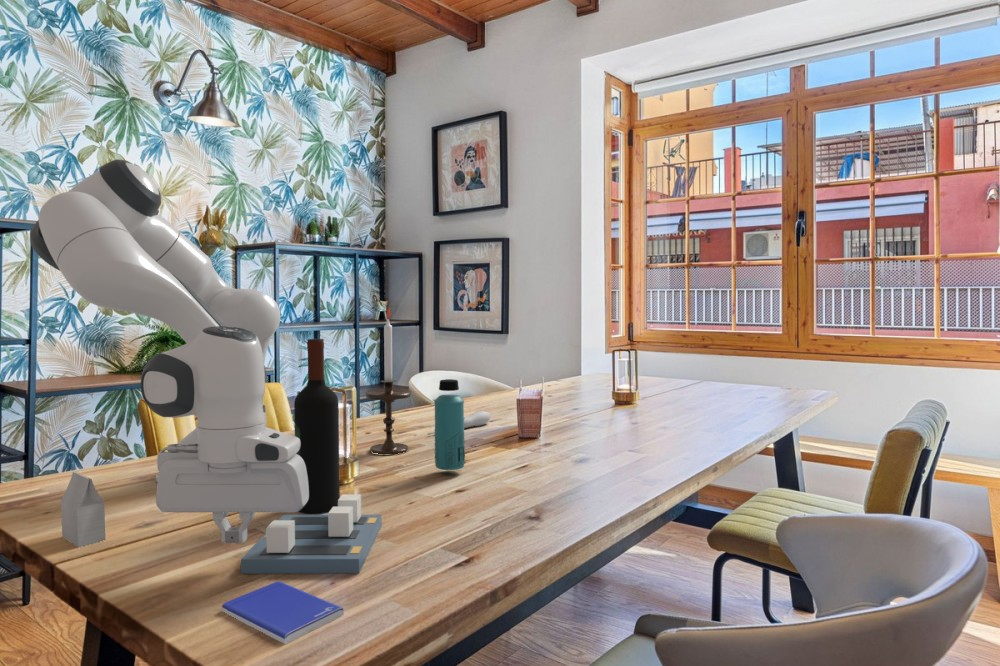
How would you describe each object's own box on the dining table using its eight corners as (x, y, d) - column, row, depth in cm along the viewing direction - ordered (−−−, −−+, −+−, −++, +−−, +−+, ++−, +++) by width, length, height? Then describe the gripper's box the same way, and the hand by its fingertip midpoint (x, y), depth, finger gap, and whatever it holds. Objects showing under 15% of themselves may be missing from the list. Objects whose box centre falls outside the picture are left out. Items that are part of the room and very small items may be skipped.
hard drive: (343, 606, 78) (280, 579, 85) (284, 634, 71) (221, 603, 78) (344, 619, 78) (280, 591, 85) (284, 648, 71) (221, 616, 79)
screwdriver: (422, 442, 176) (419, 427, 176) (483, 423, 195) (480, 409, 195) (434, 441, 173) (431, 425, 173) (495, 422, 192) (492, 408, 192)
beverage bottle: (460, 478, 135) (460, 382, 134) (430, 476, 137) (429, 381, 135) (468, 470, 142) (468, 378, 141) (439, 468, 143) (438, 377, 142)
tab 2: (338, 522, 102) (337, 500, 102) (342, 515, 105) (342, 494, 105) (357, 522, 102) (357, 500, 102) (361, 515, 105) (360, 494, 105)
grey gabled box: (78, 547, 98) (76, 482, 98) (62, 537, 102) (60, 474, 102) (105, 540, 101) (103, 476, 100) (88, 530, 105) (86, 469, 105)
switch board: (241, 573, 89) (240, 558, 89) (283, 526, 107) (283, 514, 107) (359, 573, 89) (358, 558, 89) (381, 526, 107) (381, 513, 107)
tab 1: (266, 552, 90) (266, 527, 90) (273, 544, 93) (273, 520, 93) (288, 552, 90) (288, 527, 90) (295, 544, 93) (294, 520, 93)
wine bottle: (316, 516, 112) (314, 341, 110) (286, 509, 116) (283, 339, 114) (348, 504, 118) (346, 338, 116) (319, 497, 122) (317, 337, 120)
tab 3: (328, 536, 96) (328, 513, 96) (333, 529, 99) (333, 506, 99) (348, 536, 96) (348, 513, 96) (353, 529, 99) (352, 506, 99)
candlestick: (384, 444, 166) (382, 306, 164) (420, 448, 161) (419, 306, 159) (357, 453, 156) (355, 306, 154) (394, 458, 152) (393, 307, 150)
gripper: (145, 449, 88) (148, 550, 88) (298, 449, 88) (300, 550, 89) (168, 439, 94) (171, 533, 95) (311, 438, 94) (312, 533, 95)
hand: (234, 541), depth 92 cm, fingers closed
